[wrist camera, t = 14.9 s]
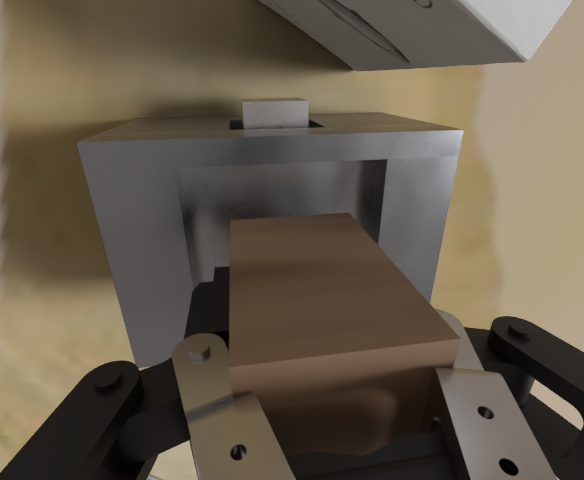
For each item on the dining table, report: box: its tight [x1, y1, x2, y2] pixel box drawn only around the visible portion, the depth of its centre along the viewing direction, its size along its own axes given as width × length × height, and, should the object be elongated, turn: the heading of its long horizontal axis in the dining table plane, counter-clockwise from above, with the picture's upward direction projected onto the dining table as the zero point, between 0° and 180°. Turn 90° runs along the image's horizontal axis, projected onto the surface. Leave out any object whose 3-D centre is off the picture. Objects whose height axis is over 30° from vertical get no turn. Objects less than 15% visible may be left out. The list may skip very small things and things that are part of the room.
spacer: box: [229, 213, 461, 456], centre depth 10 cm, size 4×4×7 cm
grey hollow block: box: [76, 113, 463, 368], centre depth 18 cm, size 10×14×8 cm
